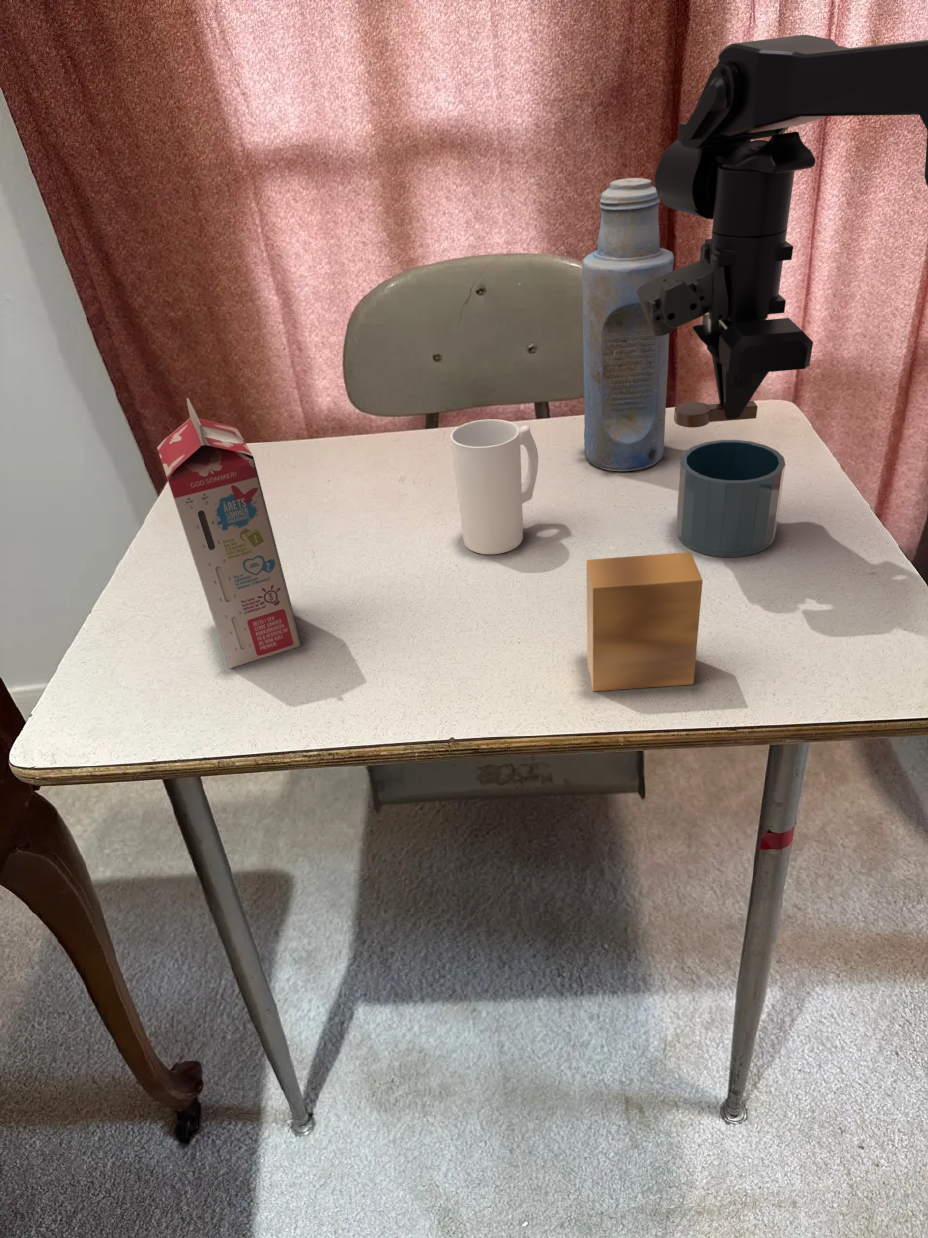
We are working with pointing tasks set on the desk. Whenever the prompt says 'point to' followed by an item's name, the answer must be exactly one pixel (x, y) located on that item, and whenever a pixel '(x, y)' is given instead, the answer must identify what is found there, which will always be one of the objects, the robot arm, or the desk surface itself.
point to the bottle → (624, 333)
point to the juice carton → (230, 538)
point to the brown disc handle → (707, 413)
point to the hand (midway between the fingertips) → (729, 414)
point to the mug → (492, 482)
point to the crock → (729, 497)
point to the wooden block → (642, 621)
